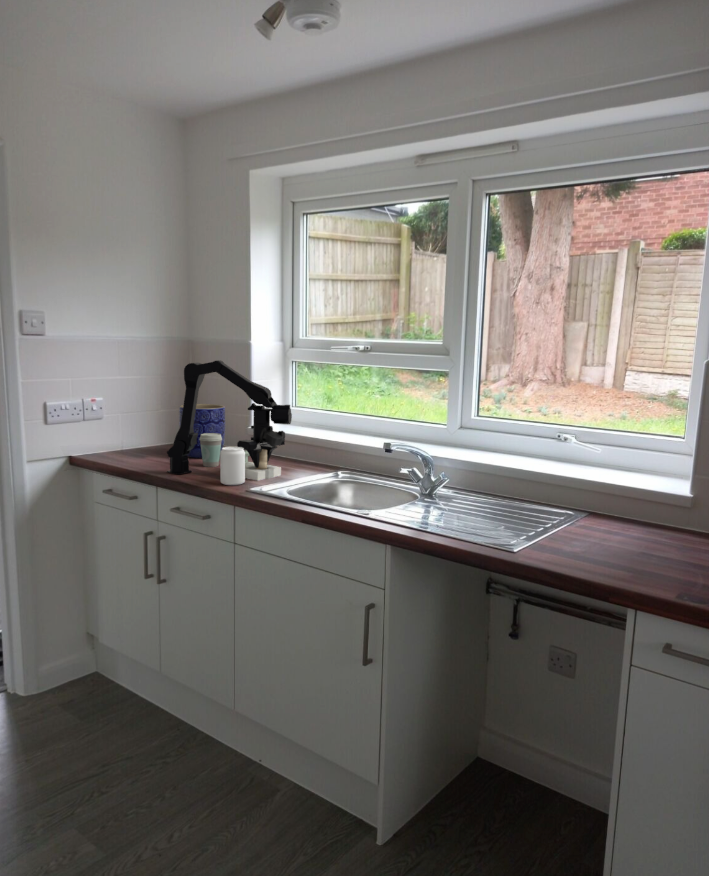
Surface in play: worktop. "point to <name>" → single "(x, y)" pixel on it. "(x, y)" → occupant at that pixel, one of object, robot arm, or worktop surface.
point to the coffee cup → (210, 449)
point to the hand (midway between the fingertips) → (261, 466)
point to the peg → (262, 460)
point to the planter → (206, 424)
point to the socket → (261, 472)
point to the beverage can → (232, 465)
